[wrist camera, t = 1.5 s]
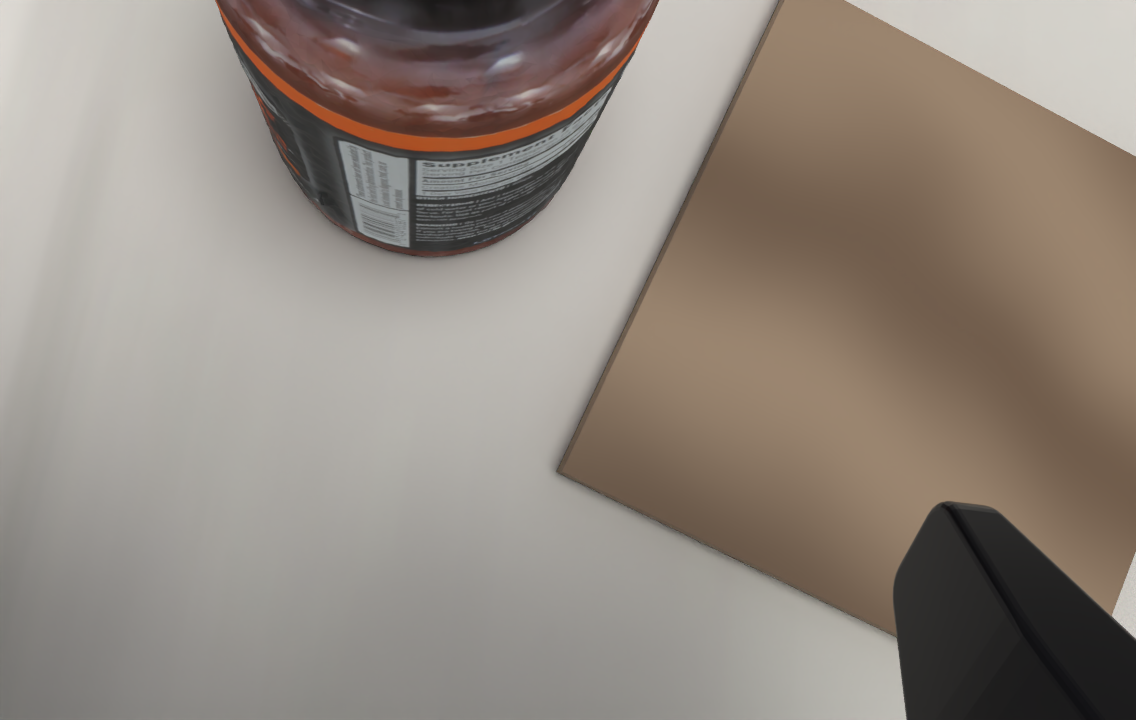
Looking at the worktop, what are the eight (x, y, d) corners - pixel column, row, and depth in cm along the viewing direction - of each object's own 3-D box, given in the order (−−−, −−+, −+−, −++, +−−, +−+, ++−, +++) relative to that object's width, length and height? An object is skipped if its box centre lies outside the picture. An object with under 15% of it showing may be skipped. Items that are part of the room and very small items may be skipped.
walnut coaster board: (1048, 711, 22) (1072, 720, 21) (556, 472, 21) (562, 471, 20) (1230, 231, 24) (1259, 222, 23) (783, -8, 23) (796, -26, 22)
